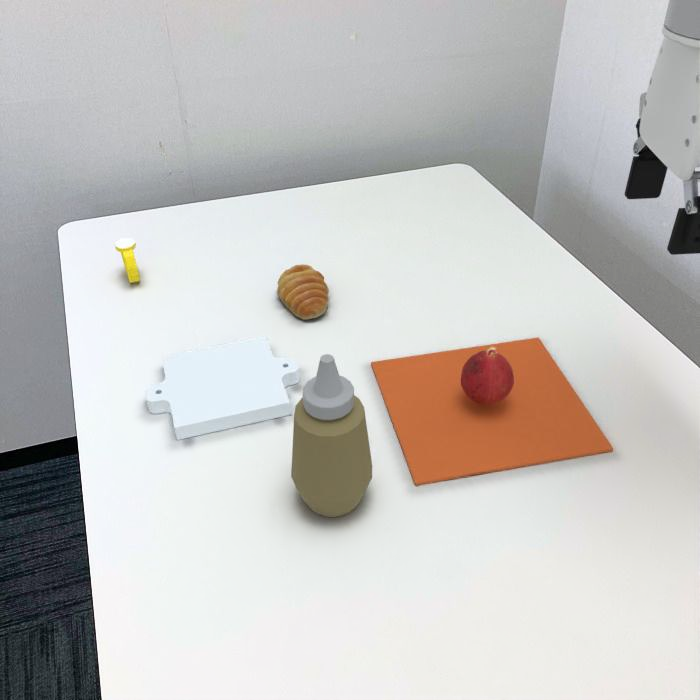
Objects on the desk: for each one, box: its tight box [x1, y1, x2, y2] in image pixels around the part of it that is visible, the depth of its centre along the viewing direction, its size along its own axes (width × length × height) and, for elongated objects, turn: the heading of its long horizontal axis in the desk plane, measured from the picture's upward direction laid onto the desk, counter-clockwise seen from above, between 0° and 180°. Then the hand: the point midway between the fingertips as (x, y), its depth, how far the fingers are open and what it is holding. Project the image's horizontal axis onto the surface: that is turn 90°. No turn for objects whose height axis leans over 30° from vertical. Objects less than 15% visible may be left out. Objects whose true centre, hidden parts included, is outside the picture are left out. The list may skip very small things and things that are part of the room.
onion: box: [461, 347, 514, 404], centre depth 82 cm, size 6×6×8 cm
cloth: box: [370, 337, 614, 486], centre depth 85 cm, size 22×20×1 cm
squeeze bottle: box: [290, 353, 373, 518], centre depth 69 cm, size 8×8×18 cm
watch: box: [114, 237, 141, 284], centre depth 105 cm, size 6×3×6 cm, turn 23°
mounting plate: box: [144, 335, 301, 441], centre depth 87 cm, size 18×13×2 cm
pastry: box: [276, 263, 330, 321], centre depth 100 cm, size 9×7×4 cm
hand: (662, 223), depth 65 cm, fingers open, 9 cm apart
